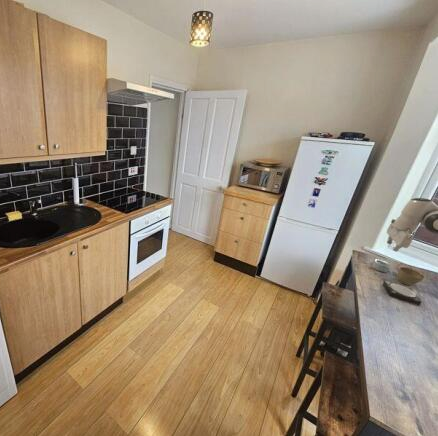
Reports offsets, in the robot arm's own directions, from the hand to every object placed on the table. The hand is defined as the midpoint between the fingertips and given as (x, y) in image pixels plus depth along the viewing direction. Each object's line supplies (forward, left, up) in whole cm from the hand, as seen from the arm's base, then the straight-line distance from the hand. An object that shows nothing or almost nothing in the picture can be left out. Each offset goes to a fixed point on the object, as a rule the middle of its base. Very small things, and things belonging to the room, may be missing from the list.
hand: (391, 247), depth 133 cm
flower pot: (-10, +8, -16) cm, 20 cm away
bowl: (0, 0, -16) cm, 16 cm away
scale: (-3, +24, -16) cm, 29 cm away
